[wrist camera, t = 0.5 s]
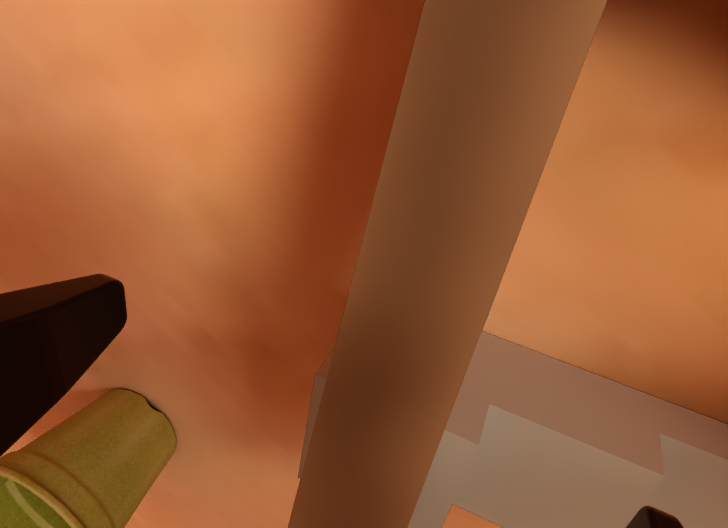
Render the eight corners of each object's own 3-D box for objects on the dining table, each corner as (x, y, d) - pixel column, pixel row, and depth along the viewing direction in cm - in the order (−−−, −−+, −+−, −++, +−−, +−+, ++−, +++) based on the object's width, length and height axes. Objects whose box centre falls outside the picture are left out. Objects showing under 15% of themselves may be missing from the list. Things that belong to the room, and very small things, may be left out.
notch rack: (824, 461, 19) (900, 627, 14) (734, 548, 22) (770, 707, 18) (375, 290, 23) (315, 374, 18) (353, 385, 27) (297, 477, 22)
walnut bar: (777, -460, 10) (862, -676, 7) (388, 572, 20) (362, 646, 17) (586, -463, 10) (596, -659, 8) (307, 530, 21) (270, 595, 18)
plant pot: (172, 374, 32) (52, 487, 25) (216, 484, 36) (122, 608, 29) (68, 359, 36) (-63, 454, 29) (117, 460, 40) (13, 565, 33)
